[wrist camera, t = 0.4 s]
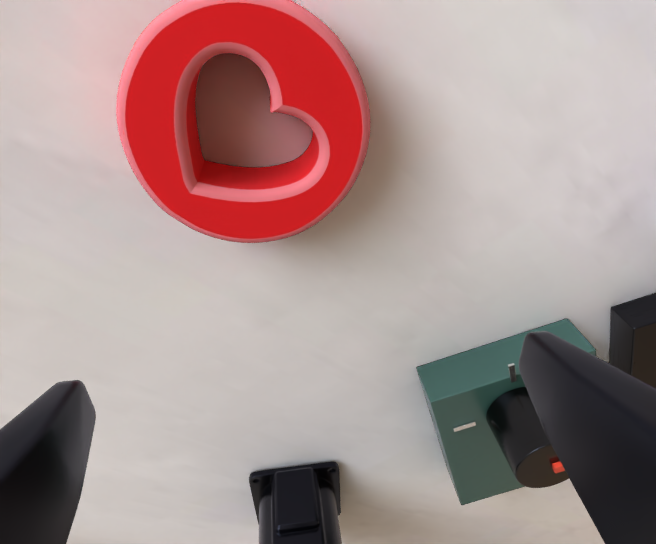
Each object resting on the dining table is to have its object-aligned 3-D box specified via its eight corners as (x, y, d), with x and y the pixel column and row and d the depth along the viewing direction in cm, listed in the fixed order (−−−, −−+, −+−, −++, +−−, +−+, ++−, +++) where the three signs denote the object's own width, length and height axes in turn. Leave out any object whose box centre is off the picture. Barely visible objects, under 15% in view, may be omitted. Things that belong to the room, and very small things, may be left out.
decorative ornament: (108, 167, 21) (85, 195, 18) (176, -67, 17) (159, -76, 14) (301, 243, 24) (305, 276, 21) (398, 62, 20) (419, 75, 17)
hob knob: (489, 437, 30) (521, 501, 26) (481, 398, 27) (515, 461, 24) (550, 419, 29) (590, 480, 26) (547, 377, 27) (590, 438, 24)
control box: (447, 469, 36) (462, 508, 34) (412, 355, 29) (427, 392, 26) (572, 431, 35) (597, 467, 33) (566, 304, 28) (598, 338, 26)
